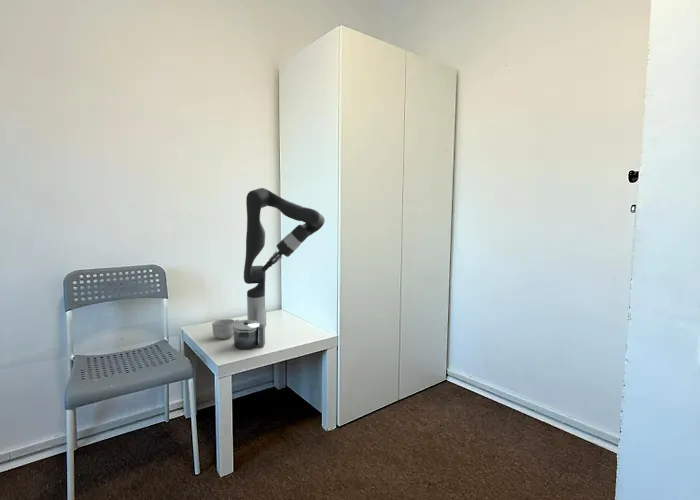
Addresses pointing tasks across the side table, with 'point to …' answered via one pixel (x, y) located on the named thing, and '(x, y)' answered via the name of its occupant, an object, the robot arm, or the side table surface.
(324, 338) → the side table surface
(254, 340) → the pot
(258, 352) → the side table surface
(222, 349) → the side table surface
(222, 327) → the teacup
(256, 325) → the lid
